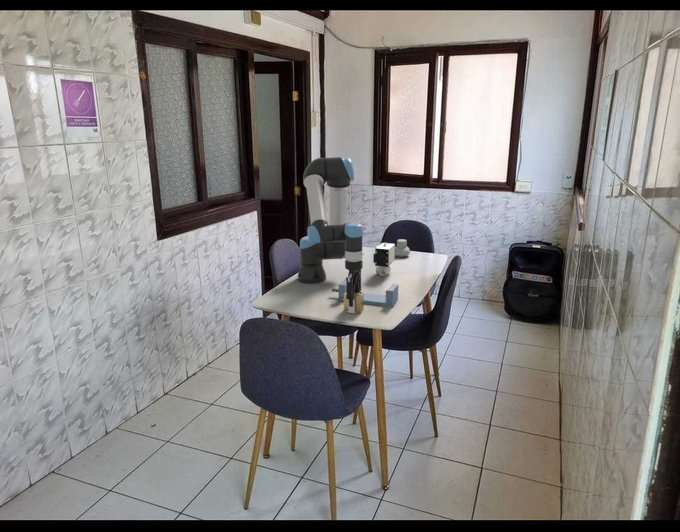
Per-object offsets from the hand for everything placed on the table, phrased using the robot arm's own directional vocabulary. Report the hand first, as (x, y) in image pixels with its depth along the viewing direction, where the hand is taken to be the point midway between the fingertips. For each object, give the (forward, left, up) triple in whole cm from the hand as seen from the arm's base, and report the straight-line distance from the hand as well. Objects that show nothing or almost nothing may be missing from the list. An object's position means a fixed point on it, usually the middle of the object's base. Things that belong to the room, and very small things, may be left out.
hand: (354, 310), depth 216 cm
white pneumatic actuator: (-2, +56, 0) cm, 56 cm away
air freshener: (-2, +97, -1) cm, 97 cm away
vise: (+2, +15, 0) cm, 15 cm away
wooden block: (0, 0, 0) cm, 0 cm away
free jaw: (-12, +15, +2) cm, 19 cm away
